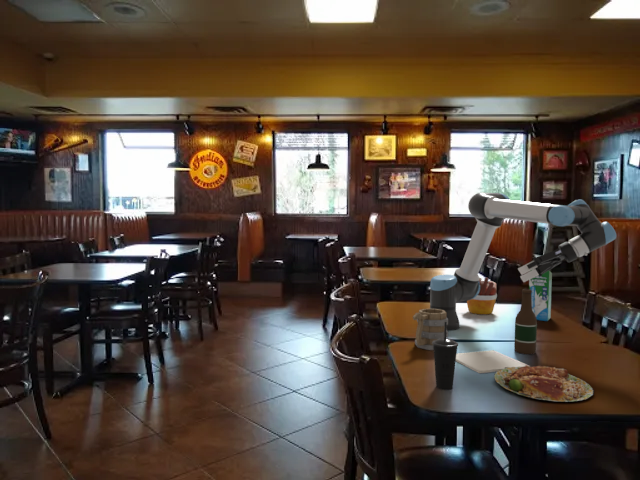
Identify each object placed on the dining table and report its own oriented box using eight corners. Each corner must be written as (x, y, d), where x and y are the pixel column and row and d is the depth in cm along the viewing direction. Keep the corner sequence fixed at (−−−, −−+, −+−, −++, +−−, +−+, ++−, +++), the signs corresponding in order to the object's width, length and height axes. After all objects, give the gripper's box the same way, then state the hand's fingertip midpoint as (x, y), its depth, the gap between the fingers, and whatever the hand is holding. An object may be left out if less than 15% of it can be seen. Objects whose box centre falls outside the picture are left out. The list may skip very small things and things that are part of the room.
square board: (446, 356, 186) (446, 354, 186) (493, 352, 192) (493, 350, 192) (479, 373, 167) (479, 371, 167) (529, 368, 173) (529, 365, 173)
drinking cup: (428, 382, 157) (429, 319, 156) (452, 382, 158) (453, 319, 157) (435, 391, 150) (437, 324, 148) (461, 391, 150) (462, 324, 149)
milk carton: (550, 318, 254) (552, 268, 252) (547, 321, 246) (549, 270, 245) (531, 315, 259) (532, 267, 257) (527, 319, 251) (529, 268, 250)
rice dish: (607, 412, 139) (609, 392, 138) (502, 400, 143) (503, 382, 143) (574, 378, 166) (576, 362, 166) (487, 370, 171) (488, 354, 171)
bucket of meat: (460, 308, 276) (461, 272, 275) (491, 309, 275) (492, 273, 274) (468, 316, 256) (469, 277, 255) (502, 317, 255) (503, 278, 254)
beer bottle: (538, 355, 188) (540, 291, 186) (516, 354, 189) (517, 290, 188) (533, 349, 195) (535, 288, 194) (512, 348, 197) (514, 287, 196)
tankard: (427, 340, 209) (428, 304, 208) (454, 346, 200) (455, 308, 199) (398, 349, 195) (398, 310, 194) (425, 356, 186) (426, 315, 185)
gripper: (579, 249, 180) (524, 277, 185) (577, 265, 202) (527, 290, 207) (567, 231, 183) (513, 259, 188) (566, 249, 205) (517, 274, 210)
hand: (520, 275), depth 198 cm, fingers open, 13 cm apart
